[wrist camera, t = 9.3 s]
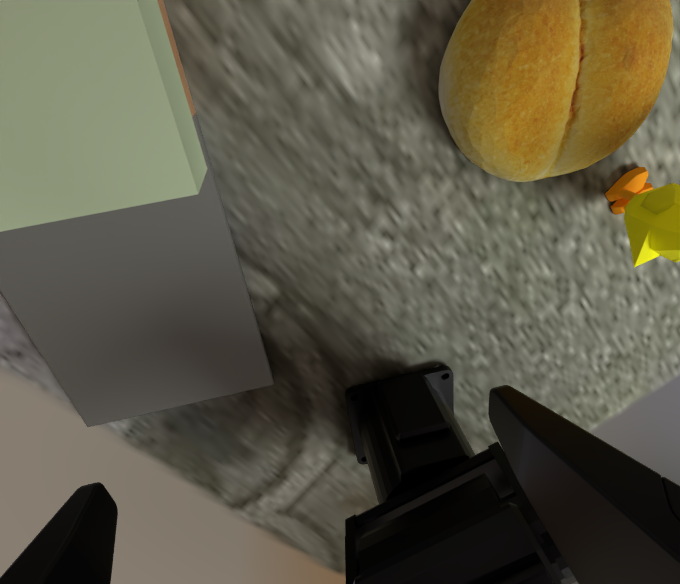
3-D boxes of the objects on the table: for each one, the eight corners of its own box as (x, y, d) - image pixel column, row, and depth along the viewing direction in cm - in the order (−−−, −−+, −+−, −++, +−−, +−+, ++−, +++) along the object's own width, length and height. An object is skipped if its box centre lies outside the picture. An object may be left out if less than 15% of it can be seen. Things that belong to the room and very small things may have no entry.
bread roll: (434, -32, 16) (482, -53, 13) (649, -47, 17) (747, -70, 14) (427, 185, 20) (463, 214, 17) (601, 163, 21) (667, 185, 18)
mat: (273, 378, 24) (274, 384, 24) (90, 420, 23) (87, 427, 23) (195, 112, 17) (194, 114, 16) (-73, 159, 16) (-82, 162, 16)
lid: (207, 168, 15) (198, 194, 13) (15, 204, 15) (-35, 238, 12) (79, -260, 10) (21, -364, 7) (-224, -230, 9) (-400, -331, 7)
